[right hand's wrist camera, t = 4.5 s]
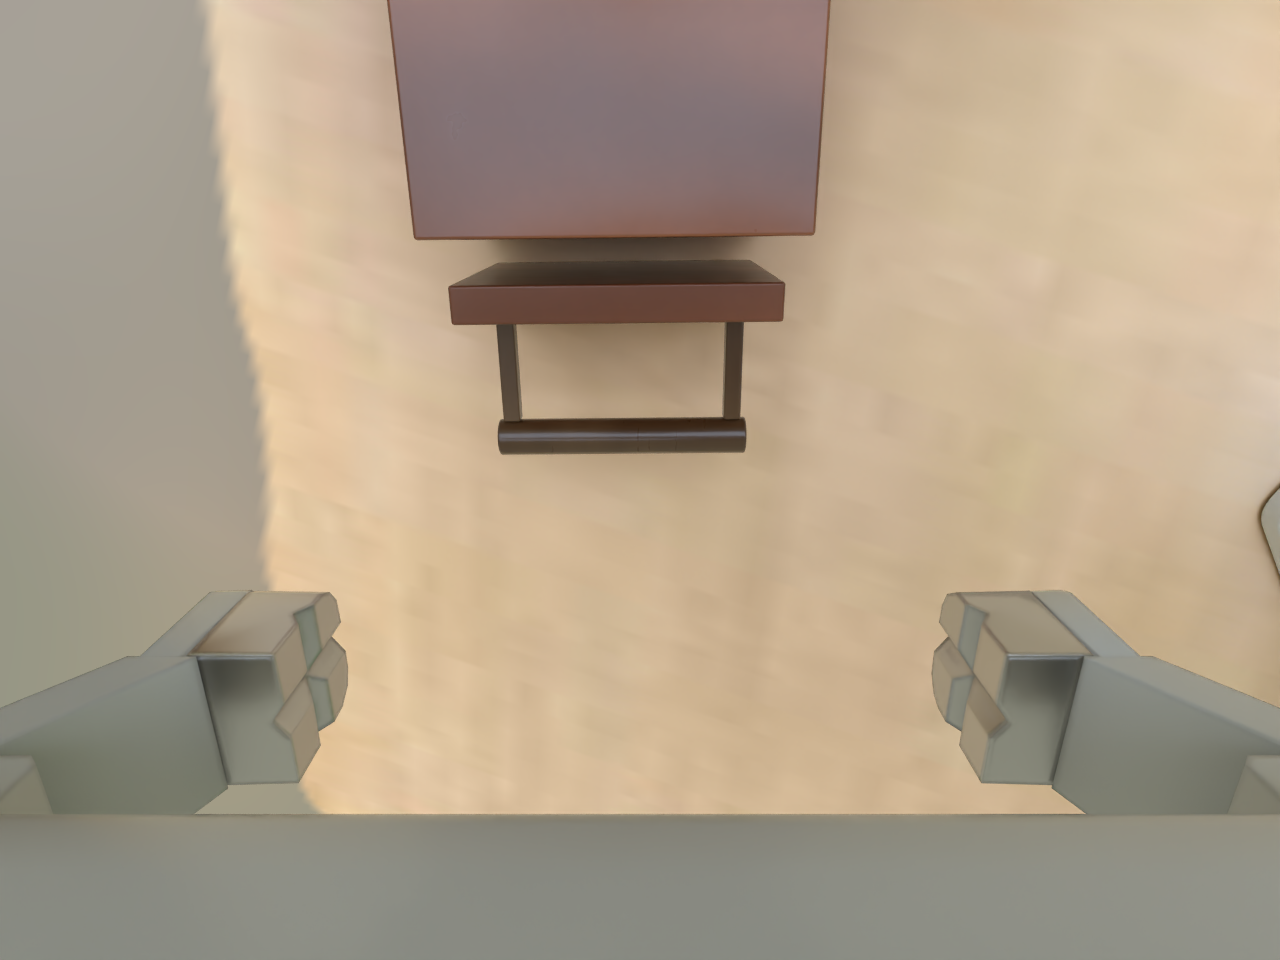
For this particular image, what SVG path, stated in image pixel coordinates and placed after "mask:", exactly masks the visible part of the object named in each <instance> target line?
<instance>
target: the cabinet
mask: <svg viewBox="0 0 1280 960" xmlns="http://www.w3.org/2000/svg"><path fill="white" fill-rule="evenodd" d="M830 3H831V0H387V4H388V13H389V22H390V30H391V39H392V48H393V57H394V66H395V75H396V84H397V93H398V101H399V110H400V119H401V128H402V137H403V146H404V155H405V164H406V172H407V181H408V190H409V199H410V208H411V217H412V226H413V235H414V238H415V239H416V240H474V239H558V238H643V237H727V236H811V235H814V233H815V226H816V212H817V197H818V182H819V167H820V152H821V137H822V122H823V107H824V93H825V78H826V63H827V48H828V33H829V18H830Z"/></svg>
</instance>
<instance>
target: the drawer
mask: <svg viewBox="0 0 1280 960" xmlns="http://www.w3.org/2000/svg"><path fill="white" fill-rule="evenodd" d="M448 291H449V301H450V311H451V321H452V324H453V325H496V326H497V339H498V352H499V365H500V377H501V390H502V403H503V415H504V419H501V420H500V422H499V426H498V446H499V450H500V453H501V454H502V455H521V454H636V453H743V452H744V451H745V448H746V422H745V418H744V417H740V410H741V382H742V355H743V328H744V322H781V321H783V316H784V298H785V283H784V282H783V281H781V280H780V279H778V278H776V277H775V276H773V275H772V274H770V273H769V272H767V271H766V270H764V269H763V268H761V267H760V266H758V265H757V264H755V263H754V262H752V261H750V260H709V261H622V262H535V263H497V264H495V265H493V266H491V267H489V268H487V269H484V270H482V271H480V272H478V273H476V274H474V275H472V276H470V277H468V278H466V279H464V280H461V281H459V282H457V283H455V284H453V285H451V286H449V288H448ZM691 322H725V335H724V371H723V407H722V415H723V417H681V418H573V419H521V418H522V402H521V387H520V373H519V358H518V344H517V330H516V324H597V323H691Z"/></svg>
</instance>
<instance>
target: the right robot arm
mask: <svg viewBox="0 0 1280 960" xmlns="http://www.w3.org/2000/svg"><path fill="white" fill-rule="evenodd" d="M1261 522H1262V526H1263V529H1264V532H1265V535H1266V538H1267V541H1268V543H1269V546H1270V549H1271V552H1272V555H1273V557H1274V560H1275V563H1276V566H1277V569H1278V571H1279V574H1280V488H1279V489H1278V490H1277V491H1276V492H1275V494H1274V495H1273V496H1272V497H1271V498H1270V499H1269V501H1268V502H1267V503H1266V505H1265V507H1264V509H1263V511H1262V515H1261ZM340 623H341V620H340V615H339V610H338V605H337V600H336V599H335V598H334V597H333V596H332V594H331V593H330V592H289V591H252V590H236V591H215V592H209V593H208V594H207V595H206V596H205V597H204V598H203V599H202V600H201V601H200V602H198V603H197V604H196V605H195V606H194V607H193V608H192V609H191V610H190V611H189V612H188V613H187V614H185V615H184V616H183V617H182V618H181V619H180V620H179V621H178V622H177V623H176V624H174V625H173V626H172V627H171V628H170V629H169V630H168V631H167V632H166V633H165V634H164V635H162V636H161V637H160V638H159V639H158V640H157V641H156V642H155V643H154V644H153V645H152V646H150V647H149V648H148V649H147V650H146V651H145V652H144V653H143V654H142V655H141V656H127V657H124V658H122V659H119V660H117V661H114V662H112V663H109V664H107V665H105V666H102V667H100V668H97V669H95V670H92V671H90V672H87V673H85V674H82V675H80V676H78V677H75V678H73V679H70V680H68V681H65V682H63V683H60V684H58V685H55V686H53V687H50V688H48V689H46V690H43V691H41V692H38V693H36V694H33V695H31V696H28V697H26V698H23V699H21V700H19V701H16V702H14V703H11V704H9V705H6V706H4V707H1V708H0V960H1280V708H1278V707H1276V706H1274V705H1271V704H1269V703H1266V702H1264V701H1261V700H1259V699H1256V698H1254V697H1251V696H1249V695H1247V694H1244V693H1242V692H1239V691H1237V690H1234V689H1232V688H1229V687H1227V686H1224V685H1222V684H1220V683H1217V682H1215V681H1212V680H1210V679H1207V678H1205V677H1202V676H1200V675H1197V674H1195V673H1193V672H1190V671H1188V670H1185V669H1183V668H1180V667H1178V666H1175V665H1173V664H1170V663H1168V662H1166V661H1163V660H1161V659H1158V658H1156V657H1153V656H1139V655H1138V654H1137V653H1136V652H1135V651H1134V650H1133V649H1132V648H1131V647H1130V646H1129V645H1127V644H1126V643H1125V642H1124V641H1123V640H1122V639H1121V638H1120V637H1119V636H1118V635H1117V634H1116V633H1114V632H1113V631H1112V630H1111V629H1110V628H1109V627H1108V626H1107V625H1106V624H1105V623H1104V622H1102V621H1101V620H1100V619H1099V618H1098V617H1097V616H1096V615H1095V614H1094V613H1093V612H1092V611H1090V610H1089V609H1088V608H1087V607H1086V606H1085V605H1084V604H1083V603H1082V602H1081V601H1080V600H1078V599H1077V598H1076V597H1075V596H1074V595H1073V594H1072V593H1070V592H1066V591H1063V590H1047V591H1000V592H958V593H951V594H947V596H946V598H945V600H944V602H943V604H942V608H941V614H940V620H939V623H940V624H941V626H942V627H943V629H944V630H945V632H946V634H947V635H948V637H947V638H946V639H945V641H944V642H943V643H942V644H941V645H940V646H939V647H938V648H937V649H936V650H935V651H934V658H933V666H932V682H933V693H934V696H935V700H936V703H937V706H938V709H939V711H940V712H941V714H942V716H943V718H944V720H945V721H946V722H947V723H949V724H950V725H952V726H953V727H955V728H957V729H958V730H960V731H961V738H960V744H959V746H960V747H961V749H962V751H963V753H964V754H965V756H966V758H967V759H968V761H969V763H970V764H971V766H972V768H973V770H974V771H975V773H976V775H977V776H978V778H979V780H980V781H981V783H996V784H1033V785H1052V789H1054V790H1055V791H1056V792H1058V793H1059V794H1060V795H1062V796H1063V797H1064V798H1066V799H1067V800H1068V801H1070V802H1071V803H1072V804H1074V805H1075V806H1076V807H1078V808H1079V809H1080V810H1082V811H1083V812H1084V813H1086V814H194V813H196V812H197V811H199V810H200V809H201V808H202V807H204V806H205V805H206V804H208V803H209V802H211V801H212V800H213V799H215V798H216V797H217V796H219V795H220V794H221V793H223V792H224V791H225V790H227V789H228V785H246V784H282V783H299V782H300V780H301V778H302V776H303V775H304V773H305V771H306V770H307V768H308V766H309V765H310V763H311V761H312V759H313V758H314V756H315V754H316V753H317V751H318V749H319V747H320V746H321V744H320V738H319V731H320V730H322V729H323V728H325V727H327V726H328V725H330V724H331V723H333V722H334V721H335V720H336V718H337V716H338V714H339V712H340V710H341V709H342V707H343V703H344V699H345V695H346V690H347V686H348V664H347V657H346V651H345V650H344V649H343V648H342V647H341V646H340V645H339V644H338V643H337V642H336V641H335V639H334V638H333V637H332V635H333V634H334V632H335V630H336V629H337V627H338V626H339V624H340Z"/></svg>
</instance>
